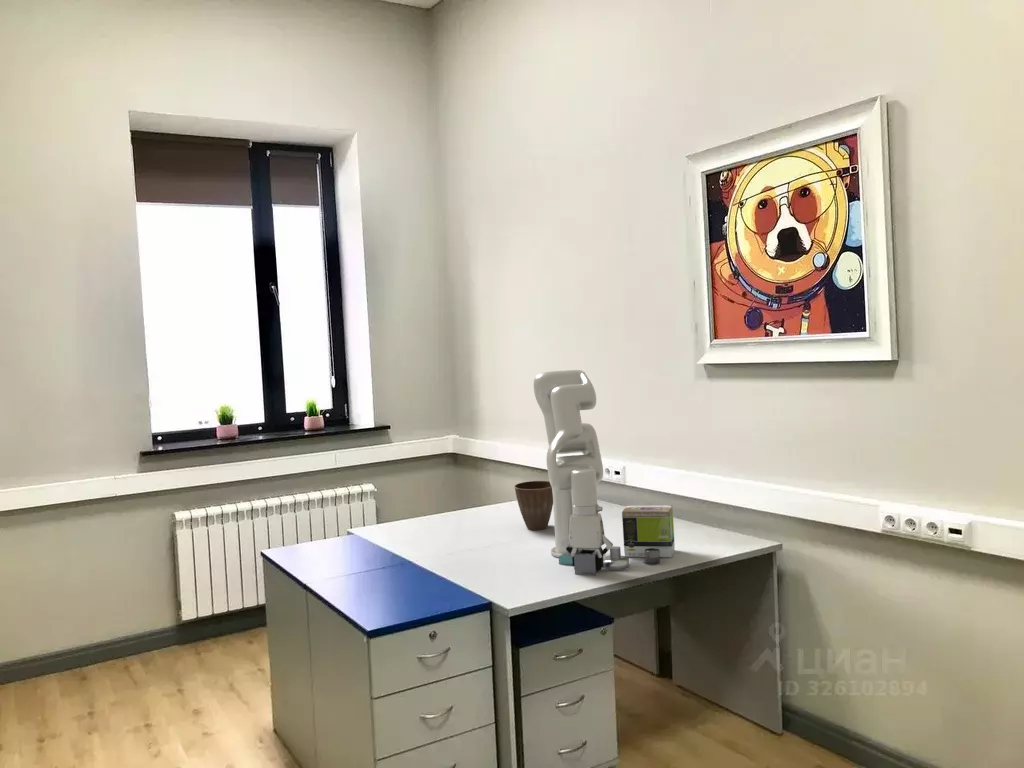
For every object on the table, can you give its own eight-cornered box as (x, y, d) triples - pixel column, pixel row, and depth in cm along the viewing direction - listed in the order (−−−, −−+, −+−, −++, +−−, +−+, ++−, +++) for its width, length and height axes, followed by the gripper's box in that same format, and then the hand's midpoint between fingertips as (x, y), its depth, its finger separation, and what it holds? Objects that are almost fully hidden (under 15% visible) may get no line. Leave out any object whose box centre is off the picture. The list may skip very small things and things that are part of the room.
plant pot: (558, 531, 299) (555, 487, 298) (516, 534, 299) (514, 489, 298) (556, 522, 314) (554, 479, 312) (517, 524, 314) (514, 482, 313)
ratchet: (632, 564, 255) (631, 545, 254) (624, 571, 247) (623, 552, 247) (565, 558, 264) (564, 540, 264) (556, 566, 257) (555, 547, 257)
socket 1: (581, 567, 254) (580, 548, 253) (601, 568, 252) (600, 549, 251) (575, 574, 248) (573, 554, 248) (595, 575, 246) (594, 555, 245)
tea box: (675, 549, 268) (673, 504, 267) (672, 558, 258) (670, 511, 257) (628, 548, 272) (626, 504, 271) (623, 557, 263) (621, 511, 261)
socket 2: (647, 560, 258) (646, 547, 257) (661, 561, 256) (660, 548, 256) (644, 564, 254) (643, 551, 253) (658, 565, 252) (657, 552, 252)
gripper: (616, 508, 249) (619, 567, 250) (561, 506, 255) (564, 564, 256) (610, 513, 242) (613, 574, 243) (553, 512, 248) (556, 571, 249)
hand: (588, 568), depth 250 cm, fingers closed on socket 1, 6 cm apart
